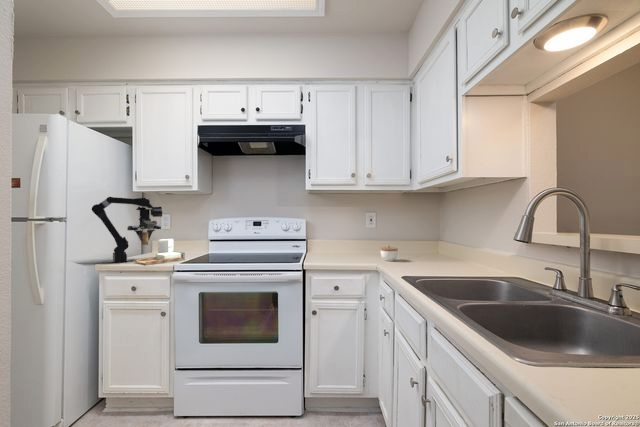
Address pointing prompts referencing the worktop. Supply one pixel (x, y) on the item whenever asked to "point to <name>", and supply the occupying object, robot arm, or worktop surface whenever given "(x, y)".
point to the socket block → (167, 256)
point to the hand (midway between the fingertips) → (144, 240)
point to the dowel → (144, 238)
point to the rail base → (155, 261)
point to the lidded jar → (389, 253)
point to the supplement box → (165, 246)
